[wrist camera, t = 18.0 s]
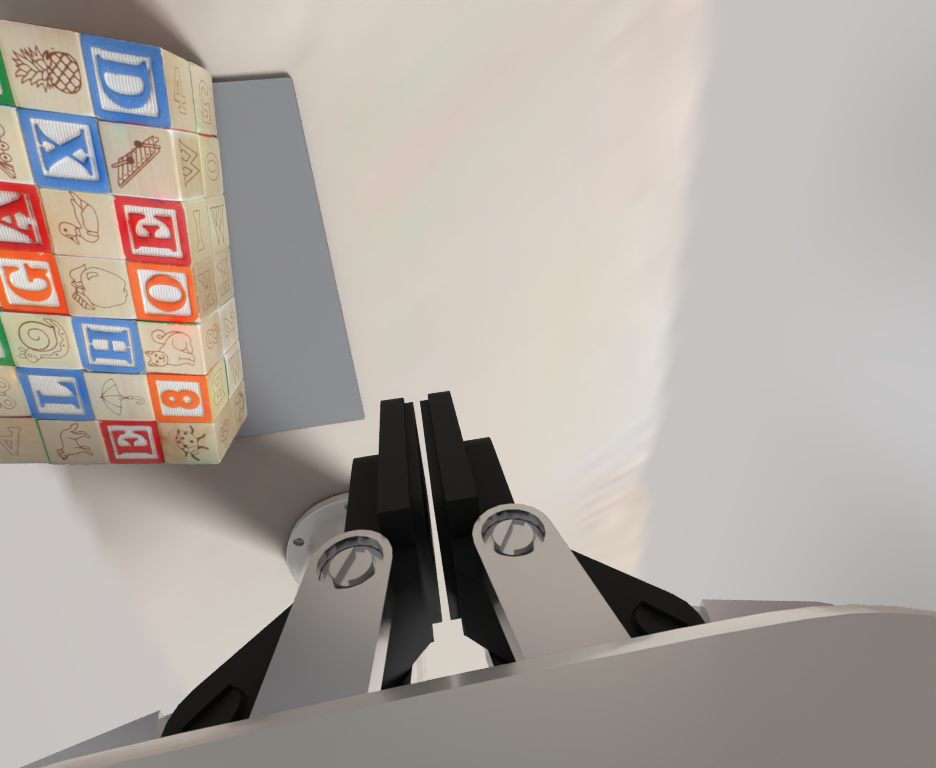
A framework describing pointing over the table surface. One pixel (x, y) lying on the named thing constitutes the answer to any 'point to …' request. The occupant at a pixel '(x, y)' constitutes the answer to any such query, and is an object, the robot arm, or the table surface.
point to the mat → (281, 265)
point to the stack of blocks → (112, 256)
